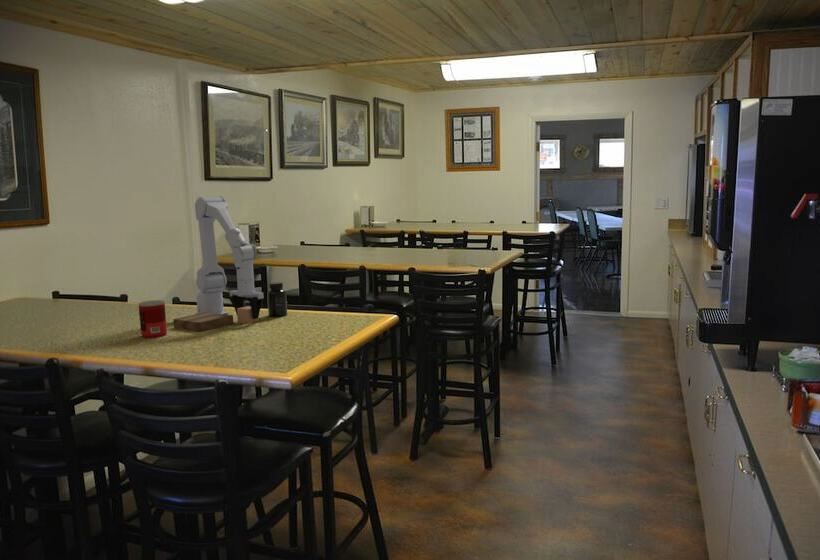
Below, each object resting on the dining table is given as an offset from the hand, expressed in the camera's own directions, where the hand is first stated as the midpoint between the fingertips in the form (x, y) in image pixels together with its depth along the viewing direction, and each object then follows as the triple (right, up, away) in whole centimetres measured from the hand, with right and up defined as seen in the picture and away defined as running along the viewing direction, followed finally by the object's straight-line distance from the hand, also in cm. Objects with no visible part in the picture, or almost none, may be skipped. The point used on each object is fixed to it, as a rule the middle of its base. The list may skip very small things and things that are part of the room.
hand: (247, 317), depth 238 cm
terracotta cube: (0, -2, 0) cm, 2 cm away
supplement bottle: (+9, 0, +10) cm, 13 cm away
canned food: (-26, -5, -19) cm, 32 cm away
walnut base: (-14, -3, -5) cm, 15 cm away
